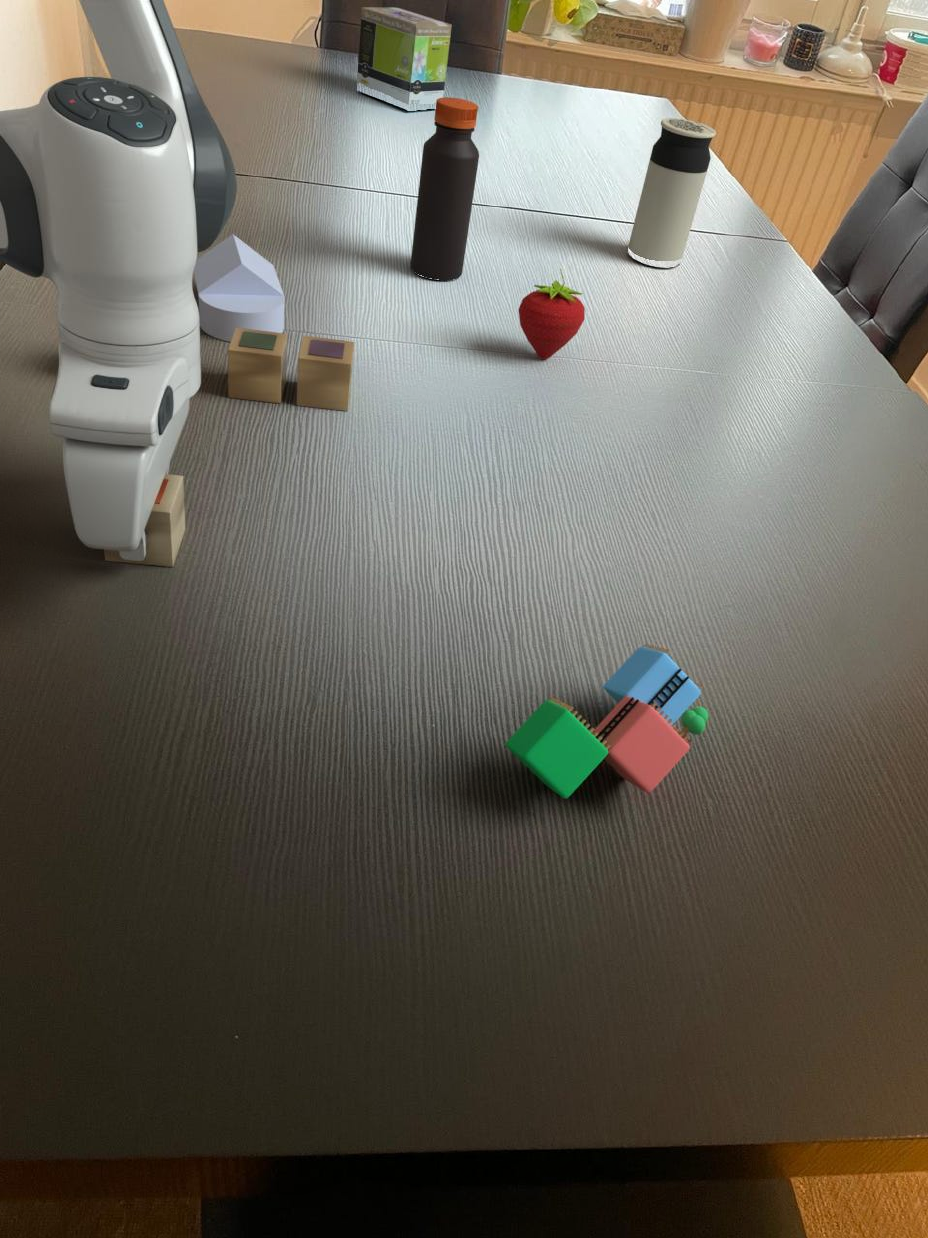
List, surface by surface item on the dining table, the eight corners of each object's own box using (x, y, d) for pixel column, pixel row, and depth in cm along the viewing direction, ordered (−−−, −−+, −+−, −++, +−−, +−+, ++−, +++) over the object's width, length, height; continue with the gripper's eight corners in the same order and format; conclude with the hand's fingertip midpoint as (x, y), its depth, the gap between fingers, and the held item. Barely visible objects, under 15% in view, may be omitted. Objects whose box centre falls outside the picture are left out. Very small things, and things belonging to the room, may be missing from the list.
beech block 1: (228, 397, 95) (227, 348, 92) (235, 374, 99) (235, 325, 95) (280, 403, 95) (281, 354, 92) (286, 380, 99) (287, 332, 96)
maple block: (104, 560, 74) (98, 504, 70) (120, 522, 77) (115, 467, 74) (173, 567, 74) (170, 511, 71) (185, 529, 78) (183, 474, 75)
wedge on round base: (192, 291, 112) (202, 342, 103) (190, 232, 108) (201, 279, 98) (272, 293, 115) (289, 343, 105) (274, 235, 110) (291, 282, 101)
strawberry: (504, 345, 113) (519, 259, 107) (565, 347, 115) (584, 262, 109) (517, 369, 109) (534, 280, 102) (581, 371, 111) (602, 284, 104)
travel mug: (637, 268, 139) (672, 131, 128) (619, 247, 145) (651, 114, 134) (688, 271, 141) (727, 137, 130) (668, 250, 147) (704, 120, 136)
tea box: (443, 109, 193) (454, 23, 183) (406, 113, 186) (415, 24, 177) (391, 88, 200) (398, 4, 190) (353, 91, 193) (359, 4, 184)
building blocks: (563, 807, 68) (679, 680, 69) (610, 843, 60) (739, 700, 61) (485, 731, 66) (606, 602, 67) (523, 759, 58) (658, 612, 59)
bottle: (400, 271, 126) (418, 99, 113) (424, 257, 131) (444, 91, 118) (447, 286, 124) (471, 114, 111) (470, 272, 129) (495, 105, 116)
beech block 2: (296, 405, 96) (298, 356, 92) (301, 381, 99) (303, 334, 96) (347, 411, 96) (351, 363, 93) (350, 387, 100) (354, 340, 97)
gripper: (120, 290, 74) (133, 451, 82) (38, 426, 58) (65, 607, 67) (206, 301, 74) (210, 459, 83) (148, 438, 59) (160, 615, 67)
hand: (145, 526), depth 75 cm, fingers open, 6 cm apart
